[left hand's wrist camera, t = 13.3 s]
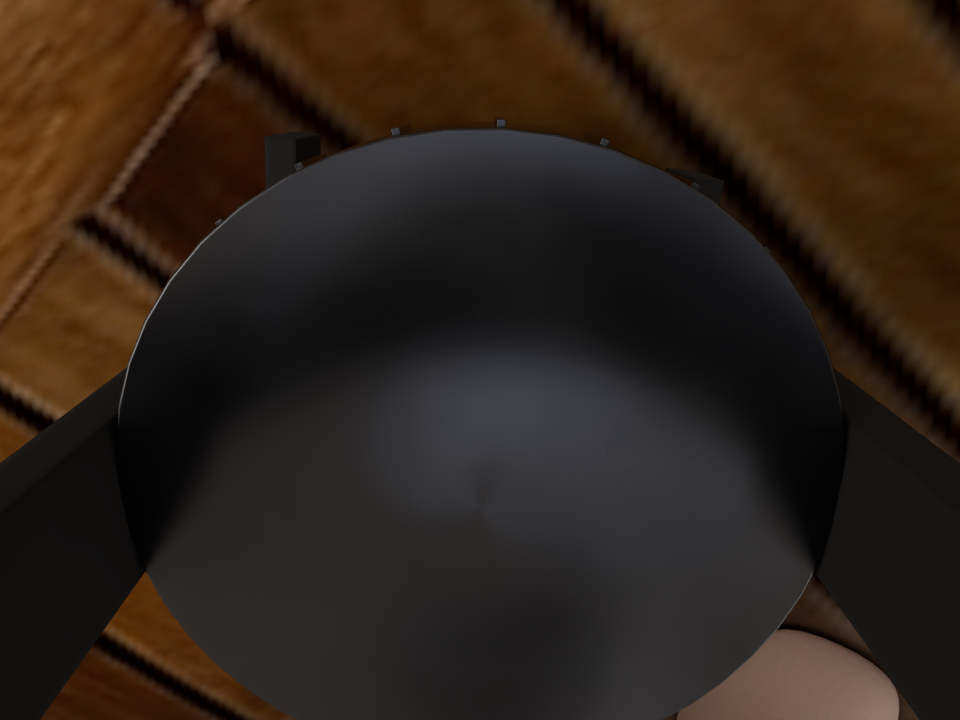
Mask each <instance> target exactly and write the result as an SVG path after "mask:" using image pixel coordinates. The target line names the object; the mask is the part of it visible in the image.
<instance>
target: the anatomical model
mask: <svg viewBox="0 0 960 720" xmlns="http://www.w3.org/2000/svg"><path fill="white" fill-rule="evenodd" d="M898 715H899V699H898V695H897V691H896V689H895V687H894V685H893V684H892V682H891V681H890V679H889V678H888V677H887V676H886V675H885V674H884V672H882V671H881V670H880V669H879V668H878V667H876V666H875V665H874V664H873V663H871V662H870V661H868V660H867V659H865V658H864V657H862V656H860V655H859V654H857V653H855V652H853V651H851V650H849V649H847V648H845V647H843V646H841V645H839V644H837V643H834V642H832V641H830V640H827V639H825V638H822V637H819V636H816V635H813V634H810V633H807V632H803V631H799V630H791V629H782V630H776V631H775V632H774V633H773V635H772V636H771V637H770V638H769V639H768V640H767V641H766V642H765V643H764V644H763V646H762V647H761V648H760V649H759V650H758V651H757V652H756V653H755V654H754V656H753V657H751V658H750V659H749V660H748V661H747V662H746V663H745V664H743V665H742V666H741V667H740V668H739V669H738V670H737V671H735V672H734V673H733V674H732V675H731V676H730V677H729V678H727V679H726V680H725V681H724V682H723V683H721V684H720V685H719V686H717V687H716V688H714V689H713V690H711V691H710V692H708V693H707V694H706V695H704V696H703V697H701V698H700V699H698V700H697V701H695V702H694V703H693V704H691V705H689V706H688V707H686V708H684V709H682V710H680V711H678V715H677V720H898Z"/></svg>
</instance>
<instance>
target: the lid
mask: <svg viewBox="0 0 960 720" xmlns="http://www.w3.org/2000/svg"><path fill="white" fill-rule="evenodd" d="M391 131H392V134H391V135H388V136H385V137H381V138H378V139H375V140H371V141H368V142H365V143H361V144H359V145H356V146H353V147H350V148H347V149H345V150H342V151H339V152H336V153H333V154H331V155H329V156H327V155H326V153H325V154H322V155H319V156H316V157H313V158H310V159H307V160H304V161H301V162H299V163H297V164H295V165H294V166H295V168H296V170H297V171H295V172H293V173H291V174H289V175H286V176H284V177H283V178H281V179H280V180H278V181H277V182H275V183H273V184H272V185H270V186H269V187H267V188H266V189H264V190H263V191H261V192H260V193H258V194H257V195H255V196H254V197H252V198H251V199H249V200H248V201H246V202H245V203H243V204H242V205H240V206H239V207H238V208H236V209H235V210H234V211H233V212H232V213H231V214H229V215H227V216H225V217H223V218H221V219H219V220H218V221H217V222H216V223H215V224H216V225H217V226H216V227H215V228H214V229H213V230H212V231H211V232H210V233H209V234H207V235H206V236H205V237H204V238H203V239H202V240H201V241H200V242H199V243H198V244H197V246H196V247H195V248H194V249H193V251H192V252H191V253H190V254H189V255H188V257H187V258H186V259H185V260H184V261H183V263H182V264H181V265H180V266H179V268H178V269H177V270H176V271H175V272H174V274H173V275H172V276H171V277H170V278H169V280H168V282H167V284H166V285H165V287H164V289H163V290H162V292H161V294H160V295H159V297H158V299H157V300H156V302H155V304H154V306H153V307H152V309H151V311H150V312H149V314H148V316H147V317H146V319H145V321H144V324H143V326H142V329H141V331H140V334H139V337H138V339H137V342H136V344H135V347H134V349H133V352H132V354H131V357H130V359H129V362H128V366H127V371H126V375H125V380H124V384H123V388H122V393H121V397H120V402H119V408H118V423H117V439H116V456H117V467H118V479H119V487H120V492H121V497H122V501H123V506H124V510H125V514H126V519H127V523H128V528H129V531H130V534H131V536H132V539H133V541H134V544H135V546H136V549H137V551H138V554H139V556H140V559H141V562H142V564H143V567H144V569H145V570H146V572H147V574H148V576H149V578H150V579H151V581H152V583H153V585H154V586H155V588H156V590H157V592H158V594H159V595H160V597H161V599H162V601H163V602H164V604H165V605H166V606H167V608H168V609H169V610H170V612H171V613H172V614H173V616H174V617H175V618H176V620H177V621H178V623H179V624H180V625H181V627H182V628H183V629H184V631H185V632H186V633H187V634H188V636H189V637H190V638H191V639H192V640H193V641H194V642H195V643H196V644H197V645H198V646H199V647H200V648H201V649H202V650H203V651H204V652H205V653H206V654H207V655H208V656H209V657H210V659H211V660H212V661H213V662H214V663H215V664H217V665H218V666H219V667H220V668H221V669H223V670H224V671H225V672H226V673H228V674H229V675H230V676H231V677H232V678H234V679H235V680H236V681H237V682H238V683H240V684H241V685H242V686H243V687H244V688H246V689H247V690H249V691H250V692H252V693H253V694H255V695H256V696H258V697H260V698H261V699H263V700H264V701H266V702H267V703H269V704H270V705H272V706H273V707H275V708H276V709H278V710H280V711H282V712H284V713H286V714H288V715H289V716H291V717H293V718H295V719H297V720H664V719H666V718H667V717H669V716H671V715H673V714H675V713H677V712H678V711H680V710H682V709H684V708H686V707H688V706H689V705H691V704H693V703H694V702H695V701H697V700H698V699H700V698H701V697H703V696H704V695H706V694H707V693H708V692H710V691H711V690H713V689H714V688H716V687H717V686H719V685H720V684H721V683H723V682H724V681H725V680H726V679H727V678H729V677H730V676H731V675H732V674H733V673H734V672H735V671H737V670H738V669H739V668H740V667H741V666H742V665H743V664H745V663H746V662H747V661H748V660H749V659H750V658H751V657H753V656H754V654H755V653H756V652H757V651H758V650H759V649H760V648H761V647H762V646H763V644H764V643H765V642H766V641H767V640H768V639H769V638H770V637H771V636H772V635H773V633H774V632H775V631H776V630H777V629H778V628H779V627H780V625H781V624H782V622H783V621H784V620H785V618H786V617H787V615H788V614H789V612H790V611H791V610H792V608H793V607H794V605H795V604H796V602H797V601H798V600H799V598H800V597H801V595H802V594H803V592H804V590H805V588H806V586H807V584H808V582H809V580H810V578H811V576H812V575H813V573H814V571H815V569H816V567H817V565H818V563H819V561H820V559H821V556H822V554H823V551H824V548H825V545H826V542H827V540H828V537H829V534H830V531H831V528H832V524H833V520H834V515H835V510H836V506H837V501H838V497H839V492H840V487H841V483H842V478H843V459H844V440H845V438H844V428H843V419H842V409H841V399H840V393H839V389H838V385H837V381H836V378H835V374H834V370H833V366H832V362H831V359H830V355H829V351H828V349H827V347H826V345H825V342H824V340H823V338H822V336H821V333H820V331H819V329H818V326H817V324H816V322H815V320H814V317H813V315H812V313H811V311H810V309H809V307H808V306H807V304H806V302H805V301H804V299H803V298H802V296H801V295H800V293H799V292H798V290H797V288H796V287H795V285H794V284H793V282H792V281H791V279H790V278H789V276H788V274H787V273H786V271H785V270H784V269H783V267H782V266H781V265H780V264H779V263H778V262H777V261H776V259H775V258H774V257H773V256H772V255H771V254H770V253H769V252H770V250H769V249H768V248H767V247H766V246H765V245H763V244H761V243H760V241H759V240H758V239H757V238H756V237H755V236H754V235H753V234H752V232H751V231H749V230H748V229H747V228H746V227H745V226H743V225H742V224H741V223H740V222H739V221H737V220H736V219H735V218H734V217H733V216H731V215H730V214H729V213H728V212H727V211H725V210H724V209H723V208H722V207H721V206H719V205H718V204H717V203H716V202H715V201H713V200H712V199H711V198H709V197H708V196H706V195H704V194H703V193H701V192H699V191H698V189H699V188H700V185H698V184H697V183H695V182H693V181H690V180H687V179H685V178H682V177H679V176H677V175H674V174H672V173H669V172H667V171H665V170H663V169H660V168H658V167H656V166H653V165H651V164H648V163H646V162H644V161H641V160H639V159H637V158H634V157H632V156H630V155H627V154H625V153H623V152H620V151H618V150H616V149H613V148H610V147H608V144H609V141H610V140H608V139H605V138H602V137H598V136H595V135H592V134H588V133H585V134H584V137H583V138H580V137H576V136H573V135H569V134H565V133H561V132H558V131H554V130H550V129H547V128H541V127H533V126H525V125H516V124H508V123H506V120H505V119H504V118H503V117H495V122H483V123H448V124H442V125H435V126H429V127H423V128H416V129H412V127H411V124H410V123H409V124H405V125H401V126H398V127H395V128H392V129H391Z"/></svg>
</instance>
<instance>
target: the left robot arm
mask: <svg viewBox="0 0 960 720" xmlns="http://www.w3.org/2000/svg"><path fill="white" fill-rule="evenodd" d="M833 370H834V374H835V378H836V381H837V385H838V389H839V393H840V399H841V409H842V419H843V428H844V438H845V440H844V459H843V478H842V483H841V487H840V492H839V497H838V501H837V506H836V510H835V515H834V520H833V524H832V528H831V531H830V534H829V537H828V540H827V542H826V545H825V548H824V551H823V554H822V556H821V559H820V561H819V563H818V565H817V567H816V569H815V571H814V572H815V573H816V574H817V576H818V577H819V579H820V580H821V581H822V583H823V584H824V586H825V587H826V589H827V590H828V591H829V593H830V594H831V596H832V597H833V598H834V600H835V601H836V603H837V604H838V605H839V607H840V608H841V610H842V611H843V612H844V614H845V615H846V617H847V618H848V620H849V621H850V622H851V624H852V625H853V627H854V628H855V629H856V631H857V632H858V634H859V635H860V636H861V638H862V639H863V641H864V642H865V643H866V645H867V646H868V648H869V649H870V650H871V652H872V653H873V655H874V656H875V658H876V659H877V660H878V662H879V663H880V665H881V666H882V667H883V669H884V670H885V672H886V673H887V674H888V676H889V677H890V679H891V680H892V681H893V683H894V684H895V686H896V687H897V689H898V690H899V691H900V693H901V694H902V696H903V697H904V698H905V700H906V701H907V703H908V704H909V705H910V707H911V708H912V710H913V711H914V712H915V714H916V715H917V717H918V718H919V719H920V720H960V463H958V462H957V461H956V460H954V459H953V458H952V457H950V456H949V455H948V454H946V453H945V452H944V451H942V450H941V449H940V448H938V447H937V446H936V445H934V444H933V443H932V442H930V441H929V440H928V439H927V438H925V437H924V436H923V435H921V434H920V433H919V432H917V431H916V430H915V429H913V428H912V427H911V426H909V425H908V424H907V423H905V422H904V421H903V420H901V419H900V418H899V417H897V416H896V415H895V414H893V413H892V412H891V411H890V410H888V409H887V408H886V407H884V406H883V405H882V404H880V403H879V402H878V401H876V400H875V399H874V398H872V397H871V396H870V395H868V394H867V393H866V392H864V391H863V390H862V389H860V388H859V387H858V386H856V385H855V384H854V383H853V382H851V381H850V380H849V379H847V378H846V377H845V376H843V375H842V374H841V373H839V372H838V371H837V370H835V369H834V368H833ZM126 371H127V368H126V369H124V370H123V371H122V372H120V373H119V374H118V375H116V376H115V377H114V378H112V379H111V380H110V381H108V382H107V383H106V384H104V385H103V386H102V387H100V388H99V389H98V390H97V391H95V392H94V393H93V394H91V395H90V396H89V397H87V398H86V399H85V400H83V401H82V402H81V403H79V404H78V405H77V406H75V407H74V408H73V409H71V410H70V411H69V412H67V413H66V414H65V415H63V416H62V417H61V418H60V419H58V420H57V421H56V422H54V423H53V424H52V425H50V426H49V427H48V428H46V429H45V430H44V431H42V432H41V433H40V434H38V435H37V436H36V437H34V438H33V439H32V440H30V441H29V442H28V443H26V444H25V445H24V446H22V447H21V448H20V449H19V450H17V451H16V452H15V453H13V454H12V455H11V456H9V457H8V458H7V459H5V460H4V461H3V462H1V463H0V720H40V719H41V718H42V716H43V715H44V713H45V712H46V710H47V709H48V708H49V706H50V705H51V703H52V702H53V701H54V699H55V698H56V696H57V695H58V694H59V692H60V691H61V689H62V688H63V687H64V685H65V684H66V682H67V681H68V680H69V678H70V677H71V675H72V674H73V672H74V671H75V670H76V668H77V667H78V665H79V664H80V663H81V661H82V660H83V658H84V657H85V656H86V654H87V653H88V651H89V650H90V649H91V647H92V646H93V644H94V643H95V642H96V640H97V639H98V637H99V636H100V634H101V633H102V632H103V630H104V629H105V627H106V626H107V625H108V623H109V622H110V620H111V619H112V618H113V616H114V615H115V613H116V612H117V611H118V609H119V608H120V606H121V605H122V603H123V602H124V601H125V599H126V598H127V596H128V595H129V594H130V592H131V591H132V589H133V588H134V587H135V585H136V584H137V582H138V581H139V580H140V578H141V577H142V575H143V574H144V573H145V571H146V570H145V569H144V567H143V564H142V562H141V559H140V556H139V554H138V551H137V549H136V546H135V544H134V541H133V539H132V536H131V534H130V531H129V528H128V523H127V519H126V514H125V510H124V506H123V501H122V497H121V492H120V487H119V479H118V467H117V456H116V439H117V423H118V408H119V402H120V397H121V393H122V388H123V384H124V380H125V375H126Z"/></svg>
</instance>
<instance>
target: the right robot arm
mask: <svg viewBox="0 0 960 720" xmlns="http://www.w3.org/2000/svg"><path fill="white" fill-rule="evenodd" d="M319 155H321V134H312V133H301V132H289V133H283V134H277V135H271V136H265V180H266V188H267V187H269V186H270V185H272V184H273V183H275V182H277V181H278V180H280V179H281V178H283V177H284V176H286V175H289V174H291V173H293V172H295V171H297V170H296V168H295V166H294V165H295V164H297V163H299V162H301V161H304V160H307V159H310V158H313V157H316V156H319ZM666 171H667V172H669V173H672V174H674V175H677V176H679V177H682V178H685V179H687V180H690V181H693V182H695V183H697V184H698V185H700V188H699V189H698V191H699V192H701V193H703V194H704V195H706V196H708V197H709V198H711V199H712V200H713V201H715V202H716V203H717V204H718V205H719V203H720V198H721V193H722V189H723V184H724V181H722V180H719V179H716V178H713V177H710V176H707V175H704V174H701V173H698V172H695V171H691V170H681V169H671V168H666Z"/></svg>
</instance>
